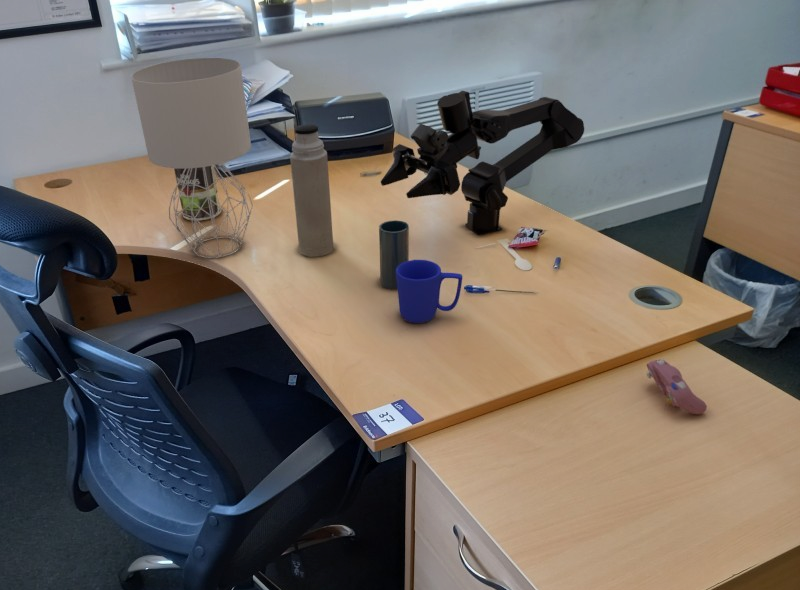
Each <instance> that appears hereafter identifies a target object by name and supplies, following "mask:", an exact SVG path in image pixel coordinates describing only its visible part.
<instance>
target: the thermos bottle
mask: <svg viewBox="0 0 800 590" xmlns="http://www.w3.org/2000/svg"><path fill="white" fill-rule="evenodd" d="M294 133H295V141H293V142H292V145H291V146H292V147H291V151H292V152H290V154H289V160H290V161H289V162H290V170H291V180H292V181H291V182H292V190H293V199H294V200H293V203H294V213H295V221H296V231H297V232H296V233H297V242H298V250H299V251H298V252H299V253H300V254H301V255H303V256H304V257H310V258H311V257H312V258H315V257H317V258H318V257H323V256H326V255H329V254H330V253H332V252H333V250H334V234H333V222H332V221H333V220H332V203H331V190H330V175H329V161H328V160H329V159H328V152H327V150H326V149H324V147H325V144H324V142H323V140H322V139H320V138H319V137H320V136H319V127H318V125H316V124H311V123H309V124H300V125H297V126H295V127H294Z"/></svg>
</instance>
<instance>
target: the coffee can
mask: <svg viewBox="0 0 800 590" xmlns="http://www.w3.org/2000/svg"><path fill="white" fill-rule="evenodd" d="M213 167H214V169H215V166H214V165H213ZM213 167H212V166H207V167H205V171H206V176H207V182H208V187H209V186H210V185H211V184H213V183H214V182H215V181H216V180H217V175H216V173H215V171H216V170H215V171H214V169H213ZM184 169H185V168H184ZM184 169H181V168H173V170H174V175H175V181H176V184H177V183H178V181H179V179H180V177H181V175H182V173H183V171H184ZM188 169H189V168H186V170H185V173H184V175H183V177H182V179H181V181H180V183H179V185H178V187H177V191H178V194H179V192H180V191H181V189H182V186H183V183H184V181H185V178H186V175H187V172H188ZM195 169H196V168H192V171H191V168H190V170H189V173H188V175H187V178H186V181H185V184H184V186H185V185H186V183H187V182H188V179H189V175H190V171H191V175H190V179H189V182H191V183H194V177H195ZM205 171H204V174H205ZM204 174H203V167H199V168H197V169H196V178H195V184H196V185H199V186H201V187H204V188H206V187H207V182H206V186H205V181H206V177H205V180H204ZM217 182H218V181H217ZM217 182H215V183H214V184H213V185H212V186H210V187H209V192H210V198H211V200H212V201H213V202H215V203H216V204H217V205H219V206H220V207H221V202H220V196H219V190H218V184H217ZM191 183H189V185H188V183H187V185H188V199H189V204H190V203H191V202H192V195H193V186H194V184H191ZM187 185H186V186H185V187H184V189H183V190H182V192H181V195H180V194H179V195H180V198H179V201H180V206H181V210H182V209H184V208H185V207H186V206H187V205H189V204H188V199H187ZM196 185H195V187H194V196H193V203H195V204H196V205H197V206H199V207H200V208H201V207H202V205H203V204H204V202H205V200H206V199H207V193H208V189H207V193H206V189H204V188H201V187H199V186H196ZM208 187H207V188H208ZM179 195H178V196H179ZM208 198H209V193H208ZM212 201H211V203H212V209H213V214H214V216H215V214H216V213H217V211H218V210H219V208H220V207H218V206H217V205H216V204H215V203H213V202H212ZM209 204H210V200H209ZM209 204H208V199H207V200H206V202H205V204H204V205H203V207H202V209H203V210H204V211H206V212H207V213H209V214H210V210H211V215H212V209H211V204H210V209H209ZM196 205H194V204H193V214H194V217H195V216H196V215H197V213H198V211H199V210H200V208H198V207H197V206H196ZM190 207H191V209H192V204H190ZM190 207H189V206H188V207H187V208H185V209H184V210H183V211H182V213H184V214H187V215H189V216H192V217H193V215H192V212H191V209H190ZM203 210H200V212H199V213H198V215H197V216H196V218H195V219H196V220H198V221H199V222H200V221H201V222H202V221H208V220H211V216H210V215H208V214H207V213H205V212H204V211H203ZM221 213H222V209H220V210H219V212H218V213H217V215H216V216H215V217H214V218H216V217H218V216H219V215H220V214H221ZM184 214H182V217H183V219H185V220H187V221H191V222H192V219H193V222H194V218H192V219H191V217H189V216H187V215H184ZM212 216H213V215H212Z"/></svg>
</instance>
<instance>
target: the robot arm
mask: <svg viewBox="0 0 800 590" xmlns="http://www.w3.org/2000/svg"><path fill="white" fill-rule="evenodd" d="M437 109H438V113H439V117H440V121H441V123H442V128H443V130H442V129H439V130H437V129H434V128H432V127H431V126H430V125H429V126H428V125H426V124H423V123H419V124H418V125H417V127H416V128H415V129H414V131H412V133H411V134H410V135H409V137H410V138H411V140H413V141H414V142H415V144H416V145H417V146H418V148H417V150H416V151H417V154H418V155H419V157H418V156H416V155H415V152H414V149H413V148H411V147H408V146H406V145H404V144H401V143H399V144H397V145H396V146H394V147H393V148H392V149H391V151H392V157H393V161H392V162H393V163H392V164H391V166H390V167H389V168H388V170H387V172H386V173H385V175H384V176H383V177H382V178H381V180H380V185H381V186H382V187H384V186H388V185H392V184H394V183H397V182H400V181H403V180H407V179H409V176H413V175H414V174H416V173H417V171H420V172H423V174H424V176H425V175H426V176H425V177H423V179H421V180H420V181H419V182H418V183H416V184H415V185H413V186H412V187H411V188H410V189H409V190H408V191H407V192H406V194H405V195H406V198H407V199H413V198H414V199H415V198H420V197H421V198H422V197H428V196H439V195H443V196H446V195H447V194H448V195H449V196H452V195H453V194H455V193H456V192H458V191H459V189H460V188H461V189H460V190H461V193H462V194H463V196H464V199H465V201H466V202H469V210H468V211H467V218H466V223H465V224H464V227H465V228H467V229H468V230H470V231H471V232H472V233H474V234H475V235H477V236H483V235H488V234H492V233H497V232H501V231H503V227H502V226H501V225H500V214H501V209H502V208H505V207H506V205H507V202H508V200H509V197H508V195H507V194H506V193H504V190H505V187H506V185H507V182H509V181H510V180H511V179H513V178H514V177H516V176H517V175H519V174H520V173H522V172H524V170H526V169H528V168H529V167H530V166H531V165H533V164H534V163H536V162H538V161H539V160H540V159H542V158H543V157H545V156H546V155H547V154H549V153H551V152H552V151H555V150H561V149H566V148H568V147H571V146H573V145H574V144H577V143H578V142H580V140H581V139H582V138H583V136H584V133H585V123H584V121H583V119H582V118H581V117H578V116H577V115H576V114H574V113H573V112H572V111H571V110H570V109H568V108H567V107H566V106H565V105H564V104H563V103H562V102H561V101H560V100H559V99H558V98H557V99H556V98H552V97H548V96H543V97H540V98H539V99H537V100H533V101H529V102H526V103H522V104H519V105H516V106H512V107H509V108H506V109H501V110H496V109H495V110H494V109H481V110H480V109H479V110H475V111H473V109H472V103H471V96H470V92H469V91H467V90H460V91H459V92H453V93H449V94H446V95H443V96H442V97H440V98H439V99H438V100H437ZM536 123H540V124H541V127H540V130H539V132H538V133H537V134H536V135H534V136H533V137H532V138H530V139H529V140H527V141H526V142H524V143H523V144H521V145H519V146H518V147H517V148H516V149H514V150H513V151H511V152H510V153H508V154H507V155H505V156H504V157H503V158H501V159H500V160H497V162H495V163H493V164H491V163H488V162H485V161H480V162H478V163H477V164H476V165H475V166H474V167H472V168H468V170H467V171H468V172H467V173H466V174H465V175H464V176H463V178H462V180H461V182H460V177H459V172H458V163H459V162H460V161H462V160H463V159H464V158H466V157H470V158H472V159H475V160H479V159H480V156H481V150H482V146H481V145H479V143H478V141H481V142H483V143H484V142H485V143H487V144H490V145H491V144H496V143H498V142H499V141H501V140H503V139H505V138H506V137H507V136H508V134H509V133H510V132H512V131H513V130H517V129H521V128H523V127H526V126H529V125H533V124H536ZM447 132H449V133H450V134H448V133H447ZM460 186H461V187H460Z"/></svg>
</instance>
